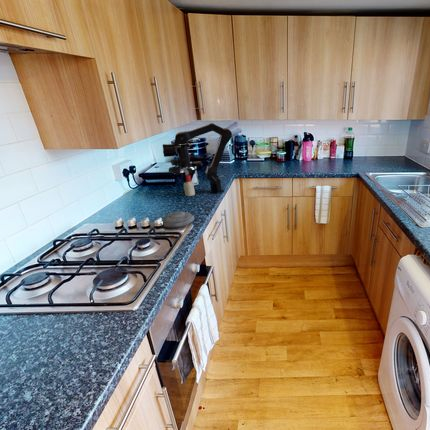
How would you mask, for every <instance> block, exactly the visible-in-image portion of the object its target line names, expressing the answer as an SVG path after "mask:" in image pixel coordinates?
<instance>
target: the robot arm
mask: <svg viewBox="0 0 430 430" xmlns="http://www.w3.org/2000/svg"><path fill="white" fill-rule="evenodd" d="M211 132H214V133H215V134H217V135H219V142H218V146H217V147H216V151H215V153H214V156H213V159H212V162H211V164H210V166H209V165H207V166H206V169H205V171H204V172H205V177H206V179H207V180H208V181H209V186H210V190H208V191H209V193H213V194H219V193H222V192H225V191H224V189H222V182H221V177H220V176H219V175H218V168H219V166H220V163H221V161H222V158H223V154H224V152H225V149H226V146H227V145H228V143H230V140H231V139H232V137H233V132H232V131H231V130H230V129H229V128H227V127H221V126H220V125H217V124H215V123H214V122H211V123H209V124H205V125H203V126H200V127H197V128H195V129H192V130H186V131H178V132H177V133H176V134H175V137H174V138H175V139H174V141H173V142H172V143H169V144H168V143H167V144H165V143H163V144H162V153H163V157H164V158H167V157H169V158H171V157H176V155H177V159H175V158H174V159H170V164H171V166H169V168H168V173H170V174H173V175H176V174H178V175H179V176H180V177H181V179H182V181H183V183H184V182H185V183H186V174H185V172H184V169H187V170H188V172H189V174H190V175H191V181H192V178H193V175H194V173H195V171H196V170H197V171H198V169H200V168H203V164H202V163H201V162H200V161H191V159H192V157H191V156H190V155H189V148H191V147H192V145H191V144H190V143H189V141H190V140H192V139H194V138H197V137H200V136H202V135H205V134H207V133H211ZM190 162H191V164H190ZM195 167H196V169H195Z"/></svg>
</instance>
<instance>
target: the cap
mask: <svg viewBox="0 0 430 430" xmlns="http://www.w3.org/2000/svg"><path fill="white" fill-rule="evenodd" d="M190 181H191V175H190V174H187V175H186V182H190Z"/></svg>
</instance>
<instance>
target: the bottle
mask: <svg viewBox="0 0 430 430" xmlns="http://www.w3.org/2000/svg"><path fill="white" fill-rule="evenodd" d="M183 189H184V195H185V196H186V197H192V196H195V195H196V191H195V185H194V184H193V182H192V181H190V182H186V183H185V182H184V181H183Z"/></svg>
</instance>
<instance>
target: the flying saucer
mask: <svg viewBox="0 0 430 430" xmlns="http://www.w3.org/2000/svg"><path fill="white" fill-rule="evenodd" d="M161 221H163V225H164V226H163V225H162V226H163V227H165V228H169V229H170V228H171V229H174V228H181V227H185V226H188V225H190V224H192V223H193V222H194V221H195V216H194V214H191V213H190V212H188V211H183V210H182V211H181V210H178V211H172V212H170V213H168V214H166V215H165V216H164V217H163V218H162V220H161Z"/></svg>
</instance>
